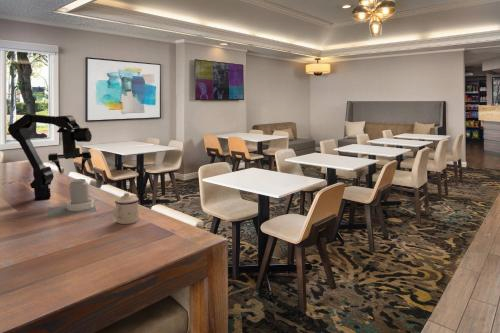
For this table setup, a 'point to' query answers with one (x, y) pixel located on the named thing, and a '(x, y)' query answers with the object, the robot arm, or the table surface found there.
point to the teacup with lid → (126, 209)
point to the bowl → (80, 206)
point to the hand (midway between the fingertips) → (71, 173)
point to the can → (79, 191)
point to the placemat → (66, 211)
